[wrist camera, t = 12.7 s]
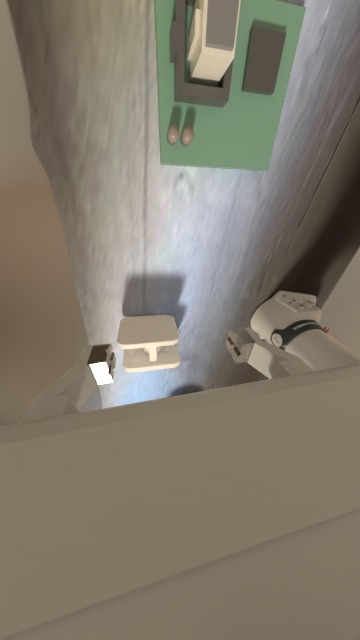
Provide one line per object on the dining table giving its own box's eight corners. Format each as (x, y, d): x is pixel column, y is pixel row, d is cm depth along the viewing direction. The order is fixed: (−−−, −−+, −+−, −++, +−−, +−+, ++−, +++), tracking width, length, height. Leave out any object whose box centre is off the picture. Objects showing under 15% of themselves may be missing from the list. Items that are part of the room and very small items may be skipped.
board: (297, 17, 23) (321, -12, 20) (262, 170, 32) (275, 167, 29) (153, -18, 20) (156, -59, 17) (160, 164, 29) (163, 159, 26)
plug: (220, 24, 21) (247, -35, 16) (215, 86, 24) (236, 54, 19) (186, 16, 21) (203, -48, 15) (185, 82, 23) (198, 47, 18)
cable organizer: (175, 312, 47) (184, 338, 38) (174, 339, 53) (181, 368, 44) (121, 315, 44) (115, 344, 35) (126, 344, 50) (122, 376, 41)
